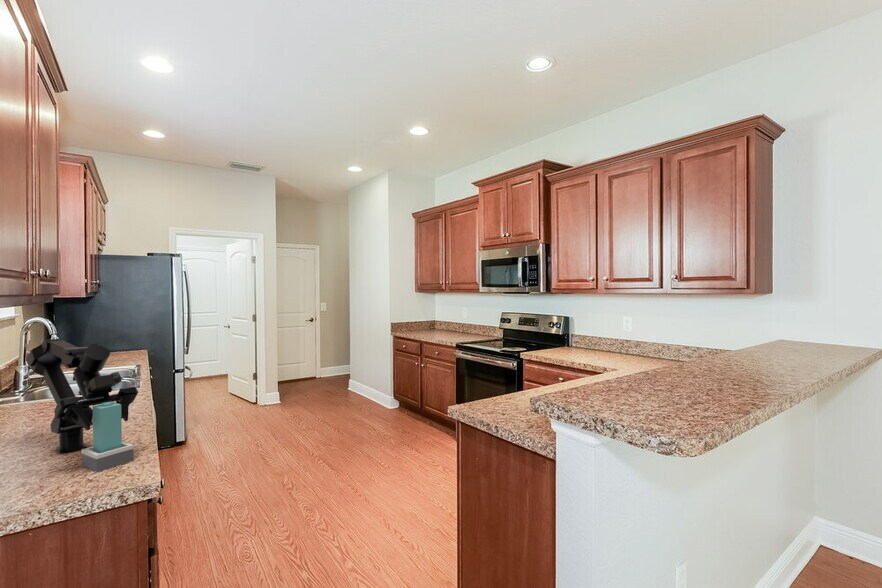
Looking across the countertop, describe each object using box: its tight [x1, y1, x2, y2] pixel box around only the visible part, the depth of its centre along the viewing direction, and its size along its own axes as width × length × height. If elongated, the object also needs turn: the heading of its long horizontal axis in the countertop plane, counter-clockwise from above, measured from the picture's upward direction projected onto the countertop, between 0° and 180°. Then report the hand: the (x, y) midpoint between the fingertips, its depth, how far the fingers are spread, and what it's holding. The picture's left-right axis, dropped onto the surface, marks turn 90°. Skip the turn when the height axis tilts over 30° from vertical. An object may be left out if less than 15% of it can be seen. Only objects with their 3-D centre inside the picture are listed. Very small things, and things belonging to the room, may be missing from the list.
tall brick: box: [92, 401, 123, 453], centre depth 122 cm, size 5×5×14 cm
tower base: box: [80, 441, 135, 473], centre depth 122 cm, size 9×9×4 cm
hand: (108, 424), depth 122 cm, fingers open, 9 cm apart
